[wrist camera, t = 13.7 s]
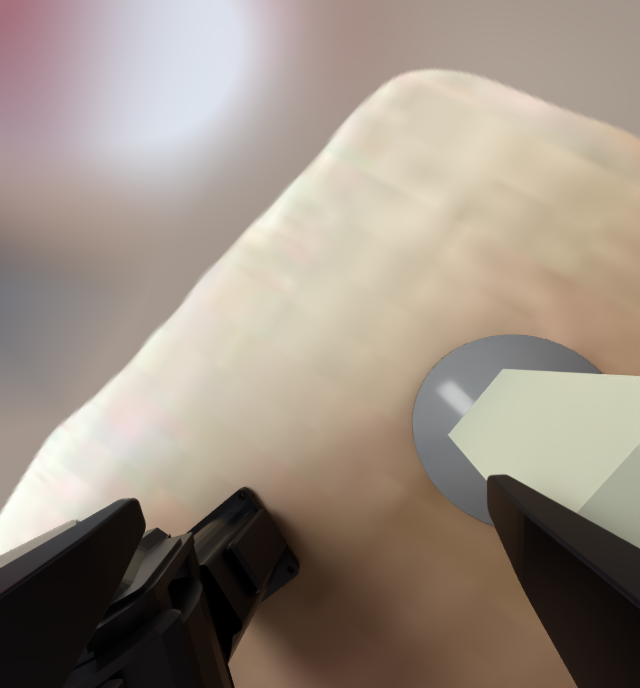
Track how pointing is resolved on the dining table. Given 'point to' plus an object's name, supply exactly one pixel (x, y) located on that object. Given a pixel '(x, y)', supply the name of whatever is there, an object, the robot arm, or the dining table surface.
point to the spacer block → (563, 441)
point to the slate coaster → (458, 397)
